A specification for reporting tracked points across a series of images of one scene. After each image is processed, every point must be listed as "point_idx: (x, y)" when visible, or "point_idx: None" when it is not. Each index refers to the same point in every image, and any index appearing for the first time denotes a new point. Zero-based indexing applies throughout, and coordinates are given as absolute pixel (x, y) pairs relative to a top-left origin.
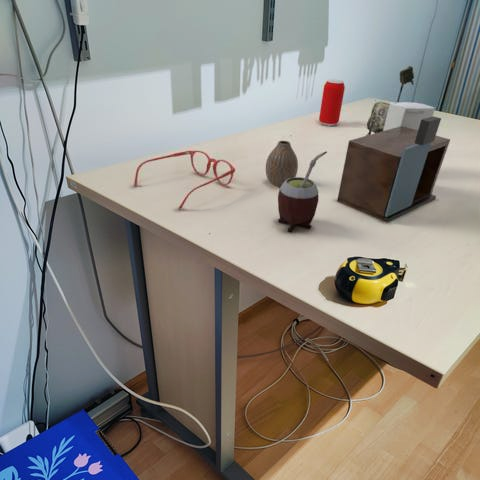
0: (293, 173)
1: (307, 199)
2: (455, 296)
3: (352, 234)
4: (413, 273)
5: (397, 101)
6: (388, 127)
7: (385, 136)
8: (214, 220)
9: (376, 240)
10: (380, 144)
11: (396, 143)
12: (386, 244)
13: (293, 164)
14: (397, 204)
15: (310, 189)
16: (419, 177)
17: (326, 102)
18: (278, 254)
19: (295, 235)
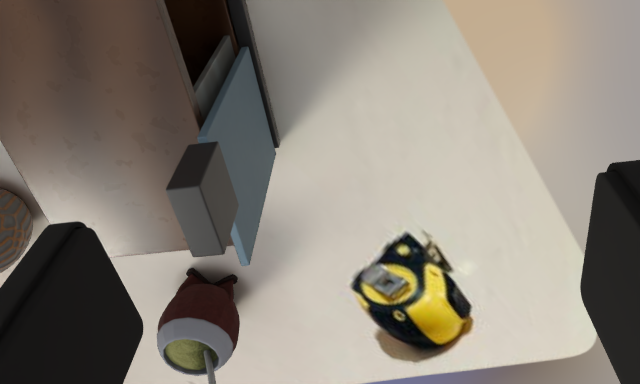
0: (21, 226)
1: (233, 348)
2: (537, 238)
3: (288, 233)
4: (450, 241)
5: None
6: None
7: (46, 142)
8: (150, 363)
9: (330, 213)
10: (124, 214)
11: (126, 166)
12: (352, 209)
13: (7, 242)
14: (264, 134)
15: (223, 355)
16: (233, 85)
17: None
18: (288, 349)
19: (247, 305)
